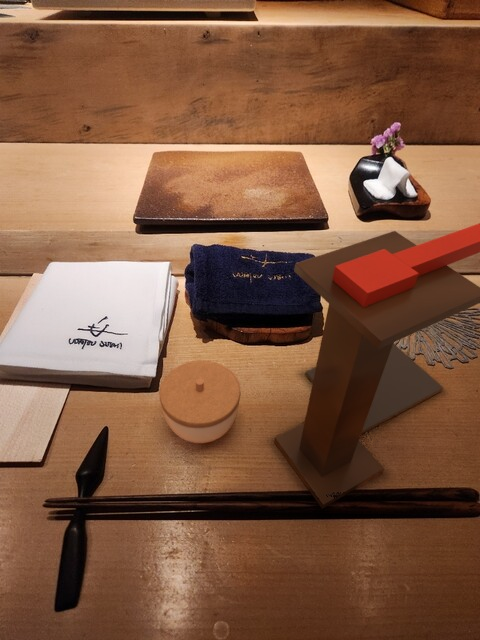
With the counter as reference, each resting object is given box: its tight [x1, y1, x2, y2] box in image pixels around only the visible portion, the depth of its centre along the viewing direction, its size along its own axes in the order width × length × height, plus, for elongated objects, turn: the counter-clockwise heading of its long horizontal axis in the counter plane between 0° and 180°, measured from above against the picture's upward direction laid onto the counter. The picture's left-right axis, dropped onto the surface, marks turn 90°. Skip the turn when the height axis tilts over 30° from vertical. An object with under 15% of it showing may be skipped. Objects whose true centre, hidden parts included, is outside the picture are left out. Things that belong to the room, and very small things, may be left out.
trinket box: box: [158, 359, 241, 444], centre depth 63 cm, size 11×11×9 cm
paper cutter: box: [304, 343, 444, 435], centre depth 72 cm, size 13×17×1 cm
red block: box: [332, 222, 480, 307], centre depth 44 cm, size 4×20×2 cm, turn 120°
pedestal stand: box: [273, 230, 480, 510], centre depth 53 cm, size 12×13×30 cm
